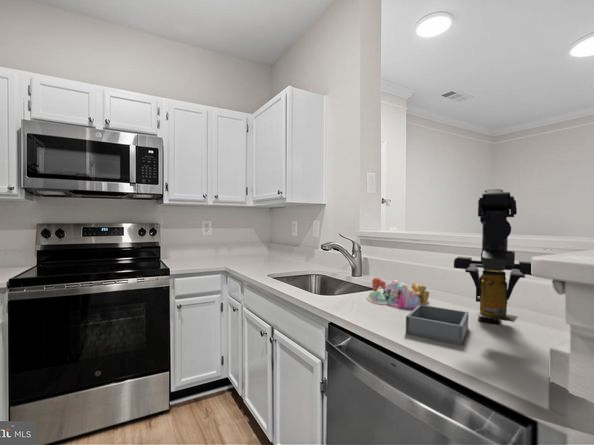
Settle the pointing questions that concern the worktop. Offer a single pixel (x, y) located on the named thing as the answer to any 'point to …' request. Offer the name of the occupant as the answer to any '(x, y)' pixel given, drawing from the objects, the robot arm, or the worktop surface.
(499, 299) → the condiment
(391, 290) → the colourful coral reef
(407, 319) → the bin
